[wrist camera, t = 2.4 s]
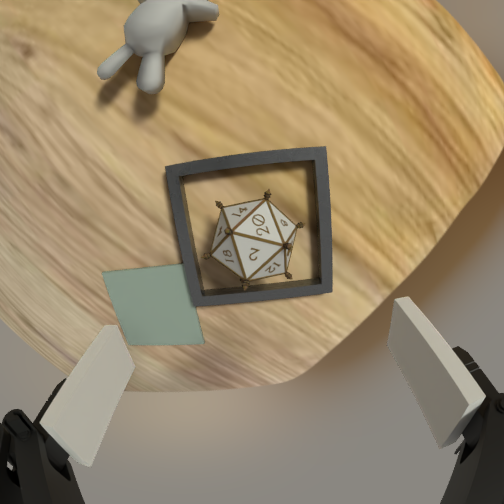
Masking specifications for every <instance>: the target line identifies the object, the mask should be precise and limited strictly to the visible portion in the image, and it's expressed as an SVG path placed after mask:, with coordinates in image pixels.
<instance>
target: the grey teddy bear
mask: <svg viewBox="0 0 504 504" xmlns="http://www.w3.org/2000/svg"><path fill="white" fill-rule="evenodd" d="M138 1H139V3H140V5H139V6H138V7H137V8H136V9H135V10H134V11H133V12H132V14H131V15H130V16H129V17H128V19H127V21H126V23H125V25H124V33H125V43H126V44H125V45H123V46H122V47H121V48H120V49H118V50H117V51H116V52H115V53H113V54H112V55H111V56H110V57H109V58H107V59H106V60H105V61H104V62H103V63H102V64H101V65H100V66H99V67H98V71H97V74H98V76H99V77H100V79H101V80H106V79H109V78H110V77H111V76H112V75H114V74H115V73H116V71H117V70H118V69H119V68H120V67H121V66H122V65H123V64H124V63H125V62H126V60H127V59H128V58H129V57H130V56H131V55H132V54H133V53H134V54H136V55H138V56H143V58H142V62H141V65H140V69H139V73H138V76H137V80H136V82H137V87H138V88H139V89H141V90H143V91H144V92H146V93H148V94H157V93H158V92H160V91H161V90H162V89H163V86H164V84H165V55H168V54H171V53H174V52H175V51H176V50H177V48H178V47H179V46H180V44H181V43H182V41H183V39H184V37H185V35H186V32H187V29H188V24H189V22H200V21H216V20H217V18H218V16H219V10H218V5H216V4H214V3H212V2H209V1H208V0H138Z"/></svg>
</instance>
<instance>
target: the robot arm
mask: <svg viewBox="0 0 504 504" xmlns="http://www.w3.org/2000/svg"><path fill="white" fill-rule="evenodd" d="M387 346H388V348H389V350H390V352H391V353H392V355H393V357H394V359H395V361H396V362H397V364H398V366H399V368H400V370H401V372H402V374H403V375H404V377H405V379H406V381H407V383H408V385H409V387H410V389H411V391H412V393H413V395H414V396H415V398H416V400H417V402H418V404H419V406H420V408H421V410H422V412H423V415H424V417H425V419H426V421H427V423H428V425H429V427H430V429H431V431H432V434H433V436H434V438H435V440H436V442H437V444H438V447H439V449H441V448H443V447H446V446H448V445H450V444H452V443H454V442H456V441H457V439H458V438H459V437H460V435H461V434H463V436H464V438H465V439H464V440H463V442H462V443H461V444H460V446H459V447H458V448H457V449H456V451H455V454H457V453H458V452H459V451H460V452H459V455H458V459H457V462H456V465H455V467H454V470H453V473H452V476H451V479H450V481H449V484H448V486H447V489H446V491H445V494H444V496H443V498H442V500H441V503H440V504H504V393H498V392H497V390H496V389H495V387H494V386H493V385H492V383H491V382H490V381H489V379H488V378H487V377H486V375H485V374H484V373H483V371H482V370H481V369H479V366H478V365H477V363H475V362H474V360H473V358H472V357H471V356H470V355H469V353H468V352H466V351H465V350H463V349H462V348H460V347H459V346H458V347H455V348H453V349H451V347H450V346H449V345H448V344H447V342H446V341H445V340H444V338H443V337H442V336H441V335H440V333H439V332H438V331H437V330H436V329H435V327H434V326H433V325H432V324H431V322H430V321H429V320H428V319H427V318H426V316H425V315H424V314H423V313H422V312H421V310H419V308H418V307H417V306H416V305H415V304H414V302H413V301H412V300H411V299H410V298H409V297H403V298H398V299H394V306H393V313H392V319H391V325H390V331H389V337H388V343H387ZM134 368H135V365H134V363H133V361H132V358H131V356H130V354H129V352H128V350H127V347H126V345H125V343H124V340H123V338H122V336H121V333H120V331H119V328H118V326H117V325H105V326H104V327H103V328H102V330H101V331H100V332H99V334H98V335H97V337H96V338H95V339H94V341H93V342H92V343H91V345H90V346H89V348H88V349H87V350H86V352H85V353H84V355H83V356H82V358H81V359H80V360H79V362H78V363H77V365H76V366H75V368H74V369H73V371H72V372H71V374H70V375H69V377H68V378H67V379H66V378H65V379H64V380H63V381H61V382H60V383H59V384H58V385H57V386H56V388H55V389H54V391H53V392H52V395H50V397H49V398H48V401H46V403H45V405H44V406H43V408H42V409H41V411H40V412H39V414H38V416H37V417H36V419H35V421H34V422H33V423H32V422H31V421H30V420H29V418H28V417H27V416H26V415H25V414H24V412H23V411H22V410H19V409H14V410H11V411H10V412H8V413H7V414H6V415H5V417H4V419H3V422H2V424H1V423H0V504H85V502H84V500H83V497H82V495H81V492H80V489H79V487H78V484H77V481H76V478H75V475H74V472H73V469H72V466H71V464H70V462H69V461H68V460H67V459H68V457H69V455H70V456H71V457H72V458H73V459H74V460H75V461H76V462H77V463H80V464H83V465H87V466H89V467H91V465H92V463H93V460H94V458H95V455H96V453H97V450H98V448H99V446H100V443H101V441H102V439H103V436H104V434H105V432H106V429H107V427H108V424H109V422H110V420H111V418H112V416H113V413H114V411H115V409H116V407H117V405H118V402H119V400H120V398H121V396H122V394H123V392H124V389H125V387H126V385H127V383H128V381H129V379H130V377H131V375H132V373H133V371H134ZM7 461H8V462H9V463H10V464H11V465H12V466H13V470H10V469H9V468H8V467H7Z"/></svg>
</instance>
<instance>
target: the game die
mask: <svg viewBox="0 0 504 504" xmlns="http://www.w3.org/2000/svg"><path fill="white" fill-rule="evenodd" d="M270 195H271V193H270V190H268V191H266V192H265V195H264V198H263V199H258V200H253V201H248V202H243V203H239V204H234V205H229V206H223V205H222V203H221V201H220V202H218V201H215V202H216V206H218V208H220V209H221V212H220V215H219V219H218V223H217V227H216V231H215V235H214V239H213V243H212V247H211V251H210V253H207V254H204V255H203V256H202V257H201V258H204V259H207V258H208V259H209V257H213V258H214V259H215V260H217V261H218V262H220V263H221V264H222V265H224V266H225V267H226V268H228V269H229V270H230V271H232V272H233V273H234V274H236V275H237V276H239V277H240V281H241V283H243V285H242V287H243V288H244V291H245V290H246V289H247V288H248V287H249V286H248V285H249V283H248V281H253V280H258V279H263V278H267V277H272V276H277V275H281V274H285V277H287V279H292V275H291V274H290V273H288V272H287V269H288V265H289V261H290V257H291V253H292V248H293V244H294V240H295V236H296V231H297V228H301V227H302V228H303V226H304V225H305V223H301V222H300V223H298V224H297V225H295V224H294V223H293V222H292V221H291V220H290V219H289V218H288V217H287V216H286V215H285V214H284V213H282V212H281V211H280V210H279V209H278V208H277V207H276V206H275V205H274V204H273V203H271V202H270V201H269V200H268V199H269V197H270Z"/></svg>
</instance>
